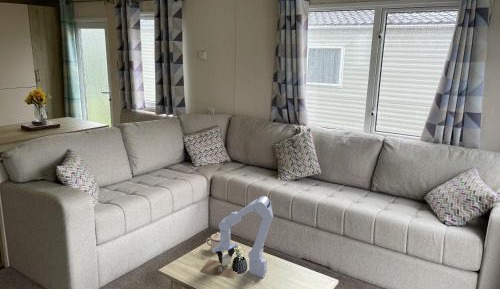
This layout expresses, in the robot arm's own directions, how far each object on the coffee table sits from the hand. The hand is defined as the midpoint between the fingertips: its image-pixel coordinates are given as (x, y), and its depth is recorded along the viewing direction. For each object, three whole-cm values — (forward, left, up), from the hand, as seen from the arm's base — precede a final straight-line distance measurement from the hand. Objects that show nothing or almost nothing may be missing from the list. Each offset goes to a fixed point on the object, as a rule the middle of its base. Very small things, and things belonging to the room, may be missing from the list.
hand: (225, 261), depth 226 cm
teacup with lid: (+12, -16, -4) cm, 20 cm away
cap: (0, 0, -1) cm, 1 cm away
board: (+1, +4, -3) cm, 5 cm away
